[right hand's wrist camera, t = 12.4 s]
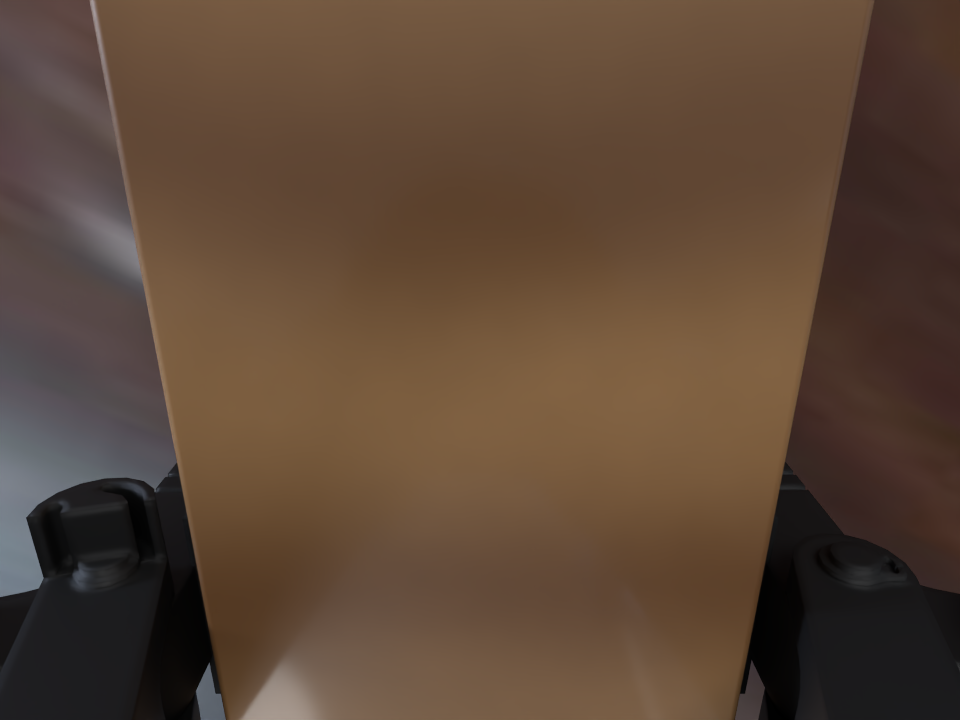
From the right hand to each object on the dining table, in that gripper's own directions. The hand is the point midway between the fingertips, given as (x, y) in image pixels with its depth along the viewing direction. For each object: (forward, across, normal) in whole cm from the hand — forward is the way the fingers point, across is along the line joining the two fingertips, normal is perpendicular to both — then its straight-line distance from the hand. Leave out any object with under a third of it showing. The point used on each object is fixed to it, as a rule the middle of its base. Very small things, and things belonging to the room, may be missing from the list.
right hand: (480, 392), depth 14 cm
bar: (+1, 0, -30) cm, 30 cm away
